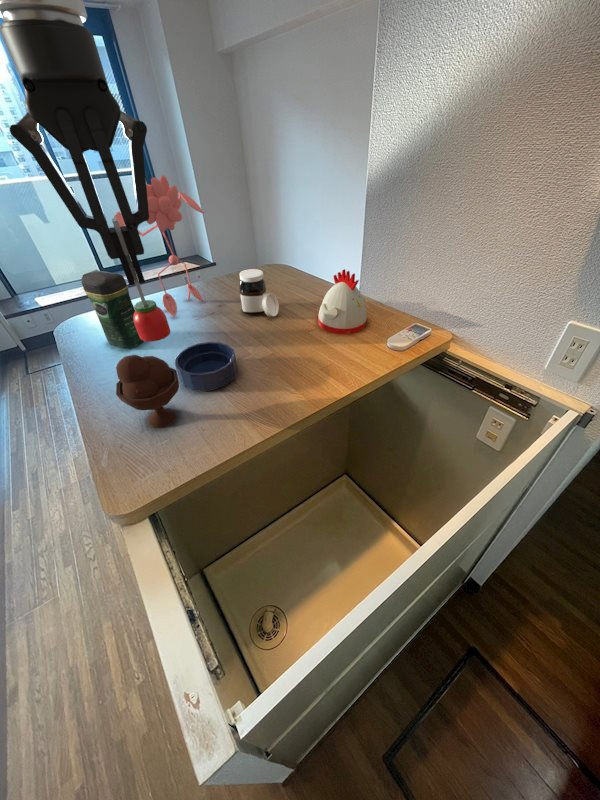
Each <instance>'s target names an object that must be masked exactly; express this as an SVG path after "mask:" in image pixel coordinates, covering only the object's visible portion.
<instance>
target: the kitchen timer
mask: <svg viewBox="0 0 600 800" xmlns="http://www.w3.org/2000/svg"><path fill="white" fill-rule="evenodd" d="M350 273H351V272H350V270H347V271H346V268H344V269H342V271H339V272H337V274H334V275H333V281H334V285H332V287H330V288H329V289H328V291H327V292H326V294H325V295H324V297H323V300H322V302H321V304H320V307H319V310H318V317H317V321H318V322H317V323H318V325H319V327H320V328H321V329H323V330H324V331H326V332H329V333H331V334H336V335H352V334H356V333H359V332H360V331H362V330H364V329H365V327H366V324H367V319H368V317H367V316H368V313H367V308H366V298H365V296H364V295H363V294H362V293H361V291H360V290H359V288H358V287H357V285H358V284H359V281H360V279H357V280H355V279H356V273H355V272H354V273H352V274H350Z"/></svg>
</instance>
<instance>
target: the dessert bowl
mask: <svg viewBox="0 0 600 800" xmlns="http://www.w3.org/2000/svg"><path fill="white" fill-rule="evenodd" d="M174 364H175V365H174V366H175V370H176V371H177V376H178V380H179V383H181V384H182V385H183V387H185V388H187V389H190V390H192V391H197V392H199V391H202V392H208V391H213V390H218V389H220V388H222V387H224V386H227V385H228V384H230V383H231V382H232V381H234V379H236V377H237V374H238V373H239V368H238V361H237V356H236V352H235V349H234V348H232V347H231V345H229V344H227V343H223V342H221V341H220V342H219V341H206V342H199V343H196V344H193V345H191V346H190V345H189V346H188V347H186V348H185V349H182V350H181V351H180V352H179V353H178V354H177V356H176V357H175V359H174Z"/></svg>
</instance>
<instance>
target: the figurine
mask: <svg viewBox="0 0 600 800" xmlns="http://www.w3.org/2000/svg"><path fill="white" fill-rule="evenodd" d="M150 183H151V184H148V183H146V187H147V198H148V209H149V219H148V221H146V223H147V224H148V225H153V224H154V223H156V224H155V225H153V226H152V227H150V228H149V229H147V230H146V231H145V232H143V233H142V232H141V231H140V230H138V232H139V236H141V237H145V236H146V235H148V234H149V233H150V232H152V231H154V230H155V229H156V228H158V230H159V232H160V233H161V234H162V236H163V238H164V240H165V242H166V245H167V246H168V249H169V250H170V253H171V255H170V256H169V257H168V262H169V263H168V264H167V266H165V267H164V268H163V269H161V271H159V272H158V273H157V276H158V279H159V281H160V285H161V286H162V289H163V292H164V294H163V295H162V305H163V307H164V309H165V312H167V313H168V314H170V315H171V316H172V317H173V318H175V317H176V315H177V310H178V307H177V306H178V305H177V302H176V300H175V298H174V296H172V295H171V294H170V293H167V290H166V288H165V286H164V283H163V279H162V278H161V276H160V275H161V274H162V273H163V272H164V271H165V270H167V269H168V268H169V267H170V266H171V265H173V266H177V265H178V264H179V263H181V264H183V265H184V268H185V273H186V276H187V279H188V283H187V284H186V286H187V290H188V293H187V301H188V302H190V298H191V295H192V296H193V297H194V298H195V299H197V300H198V301H200V302H203V301H204V299H203V297H202V295H201V293H200V291H199V290H198V289H197V288H196V287H195V286H194V285H193V284H192V283H191V278H190V276H189V275H190V274H189V272H188V269H187V264H186V263H185V262H184V261H182V260H180V259H179V257H178V256H177V255H175V254H174V251H173V249H172V246H171V244H170V242H169V239H168V237H167V235H166V234H165V231H166V229H168V230H170V231H174V229H175V226H176V225H177V223H178V222H180V221H182V220H183V215H182V212H181V211H179V210H180V208H181V206H182V200H181V198H182V199H183V201H185V203H186V204H187V205H188V206H189V207H190V208H192V209H193V210H195V211H197V212H199V213H201V214H204V213H205V212H204V210H203V209H202V208H201V206H200V205H199V204H198V203H197V202H196V201H195V199H193V198H192V197H190V196H189V195H187V194H186V193H183V192H181V191H180V192H179V191H178V186H176V185H175V184H174V185H172V186H170V183H169V180H168V179H167V177H166V176H165V174H164V175H161V176H160V178H159V179H158V178H156V177H151V179H150ZM113 218H117V220H118V223H119V226H120V227H121V226H126V225H125V222H124V220H123V217H122V214H121V211H118V210H117V212H116V214H114V216H113ZM217 310H218V308H216V309H215V311H217ZM213 313H214V311H212V312H211V313H209V314H207V315H205V316H201V317H200V318H199V317H198V318H195V319H194V321H196V320H200V319H203V318H206V317H207V316H210V315H212V314H213Z"/></svg>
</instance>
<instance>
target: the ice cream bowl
mask: <svg viewBox="0 0 600 800" xmlns="http://www.w3.org/2000/svg"><path fill="white" fill-rule="evenodd" d="M115 370H116V375H117V378H118V381H117V382H116V384H115V395H116V397H117V398H118V399H119V400H120V401H121V402H123V404H125V405H127V406H129V407H131V408H133V409H135V410H137V411H152V412H151V414H150V415H149V416H148V425H149V426H150V427H152V428H153V429H163V428H166V427H168V426H170V425H172V424H173V423H174V422H175V421H176V419H177V414H176V413H177V412H176V411H175V410H174V409H172V408H170V407H166V408H165V407H164V406H167V405H168V404H169V403H170V401H171V400H172V399H174V397H175V395H176V394H177V393H178V391H179V387H180V380H179V376H178V373H177V369H176V368H174V367H173V368H172V367H170V365H169V364H168V363H167V362H166V361H165V360H163V359H161V358H159V357H157V356H154V355H144V356H140V355H138V354H129V355H126V356H123V357H122V358H120V359H119V361H118V363H117V364H116V367H115Z"/></svg>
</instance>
